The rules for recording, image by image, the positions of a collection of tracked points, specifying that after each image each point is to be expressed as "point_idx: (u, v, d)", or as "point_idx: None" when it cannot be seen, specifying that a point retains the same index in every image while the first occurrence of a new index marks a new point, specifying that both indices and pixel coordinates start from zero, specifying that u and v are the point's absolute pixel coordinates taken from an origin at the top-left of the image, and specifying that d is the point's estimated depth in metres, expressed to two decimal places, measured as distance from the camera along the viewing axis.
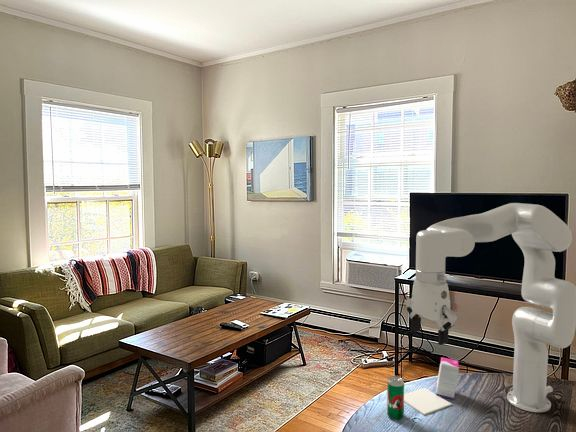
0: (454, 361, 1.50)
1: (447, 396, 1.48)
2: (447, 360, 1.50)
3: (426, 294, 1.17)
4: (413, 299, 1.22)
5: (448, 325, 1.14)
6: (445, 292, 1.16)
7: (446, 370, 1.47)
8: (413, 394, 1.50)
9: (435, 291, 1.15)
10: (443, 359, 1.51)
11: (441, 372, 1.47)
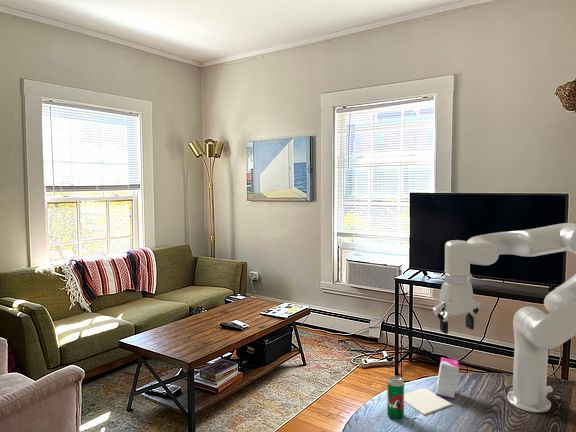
0: (454, 361, 1.50)
1: (447, 396, 1.48)
2: (447, 360, 1.50)
3: (465, 293, 1.41)
4: (451, 303, 1.40)
5: (477, 310, 1.45)
6: None
7: (446, 370, 1.47)
8: (413, 394, 1.50)
9: (471, 288, 1.42)
10: (443, 359, 1.51)
11: (441, 372, 1.47)
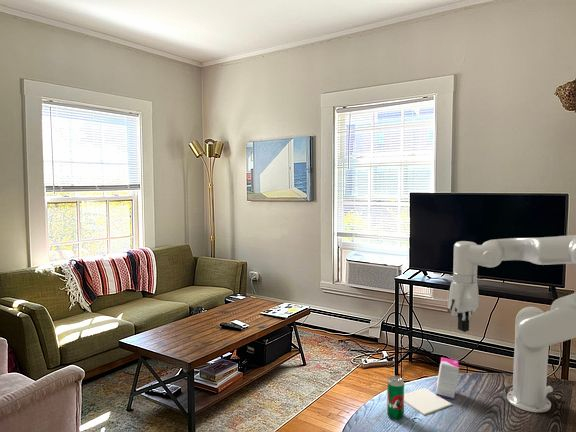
0: (454, 361, 1.50)
1: (447, 396, 1.48)
2: (447, 360, 1.50)
3: (472, 291, 1.49)
4: (461, 301, 1.47)
5: (471, 312, 1.52)
6: None
7: (446, 370, 1.47)
8: (413, 394, 1.50)
9: (477, 286, 1.50)
10: (443, 359, 1.51)
11: (441, 372, 1.47)
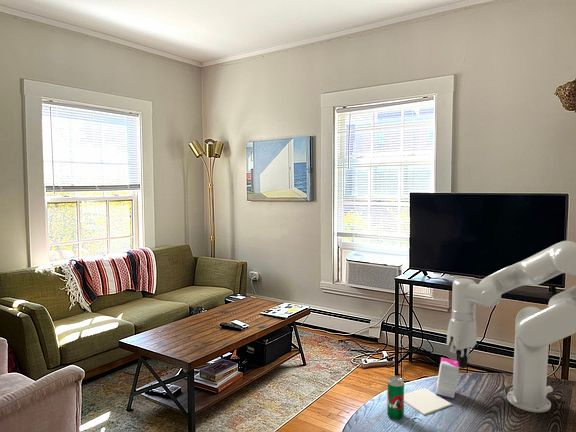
0: (454, 361, 1.50)
1: (447, 396, 1.48)
2: (447, 360, 1.50)
3: (471, 329, 1.50)
4: (460, 339, 1.48)
5: None
6: None
7: (446, 370, 1.47)
8: (413, 394, 1.50)
9: (475, 323, 1.52)
10: (443, 359, 1.51)
11: (441, 372, 1.47)
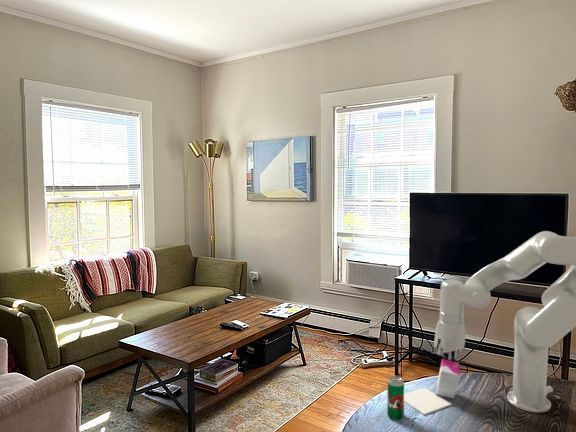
0: (455, 364, 1.46)
1: (447, 396, 1.47)
2: (448, 364, 1.46)
3: (459, 331, 1.48)
4: (447, 341, 1.46)
5: None
6: None
7: (446, 376, 1.44)
8: (413, 394, 1.50)
9: (463, 325, 1.49)
10: (444, 363, 1.46)
11: (441, 378, 1.45)
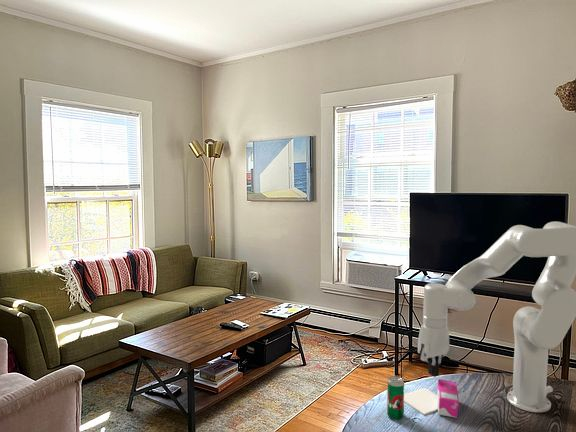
0: (454, 405, 1.36)
1: None
2: (446, 405, 1.37)
3: (442, 336, 1.44)
4: (430, 346, 1.42)
5: (442, 357, 1.47)
6: None
7: None
8: (413, 394, 1.50)
9: (447, 330, 1.46)
10: (441, 404, 1.37)
11: None
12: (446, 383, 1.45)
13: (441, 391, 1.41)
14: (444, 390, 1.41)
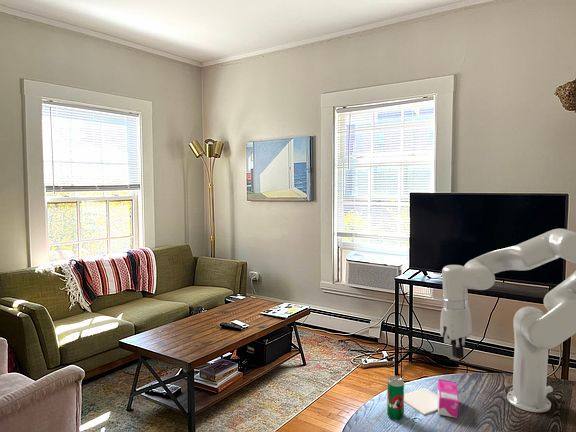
0: (454, 405, 1.36)
1: None
2: (446, 405, 1.37)
3: (464, 317, 1.43)
4: (453, 328, 1.42)
5: (465, 338, 1.46)
6: None
7: None
8: (413, 394, 1.50)
9: (469, 310, 1.45)
10: (441, 404, 1.37)
11: None
12: (446, 383, 1.45)
13: (441, 391, 1.41)
14: (444, 390, 1.41)
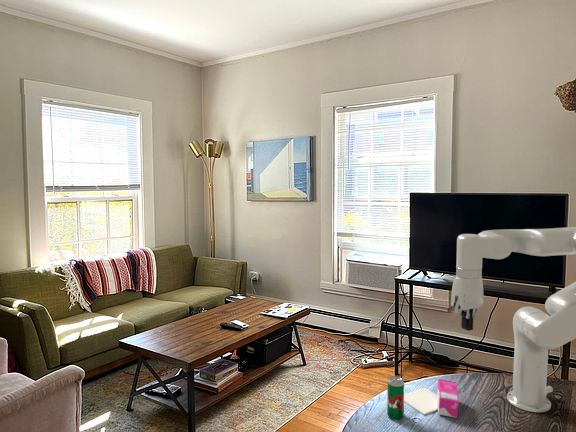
0: (454, 405, 1.36)
1: None
2: (446, 405, 1.37)
3: (477, 287, 1.39)
4: (465, 298, 1.37)
5: (476, 310, 1.42)
6: None
7: None
8: (413, 394, 1.50)
9: (482, 282, 1.41)
10: (441, 404, 1.37)
11: None
12: (446, 383, 1.45)
13: (441, 391, 1.41)
14: (444, 390, 1.41)
